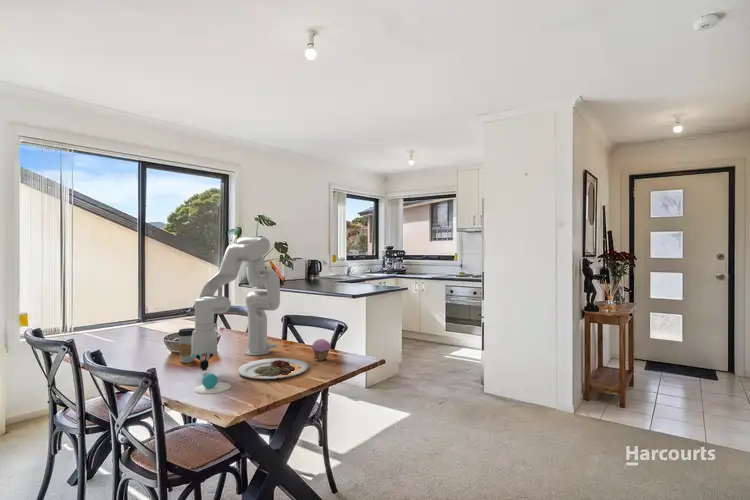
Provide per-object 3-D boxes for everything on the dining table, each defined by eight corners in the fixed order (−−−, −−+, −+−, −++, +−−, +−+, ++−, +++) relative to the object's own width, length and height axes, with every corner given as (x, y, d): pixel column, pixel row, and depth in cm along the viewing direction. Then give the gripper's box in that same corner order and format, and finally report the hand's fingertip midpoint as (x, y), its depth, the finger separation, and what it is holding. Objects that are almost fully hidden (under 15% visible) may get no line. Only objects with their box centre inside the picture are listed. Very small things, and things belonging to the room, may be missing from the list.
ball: (216, 369, 163) (218, 380, 159) (216, 378, 166) (218, 389, 162) (201, 371, 161) (202, 383, 157) (201, 381, 164) (202, 392, 160)
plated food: (236, 385, 166) (236, 376, 166) (239, 364, 195) (239, 357, 195) (312, 379, 174) (312, 371, 174) (304, 360, 203) (304, 353, 203)
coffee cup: (200, 359, 203) (200, 328, 203) (191, 363, 194) (191, 331, 194) (184, 358, 204) (184, 327, 203) (174, 363, 195) (174, 331, 195)
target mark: (227, 380, 170) (227, 380, 170) (234, 390, 159) (234, 389, 159) (192, 386, 164) (192, 385, 164) (197, 396, 152) (197, 395, 152)
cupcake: (322, 356, 208) (323, 336, 208) (334, 360, 202) (334, 339, 202) (308, 360, 202) (308, 339, 202) (319, 363, 196) (319, 342, 196)
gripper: (220, 324, 187) (220, 365, 187) (184, 327, 180) (184, 370, 180) (224, 327, 181) (224, 369, 181) (186, 330, 173) (186, 374, 173)
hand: (204, 369), depth 180 cm, fingers closed
